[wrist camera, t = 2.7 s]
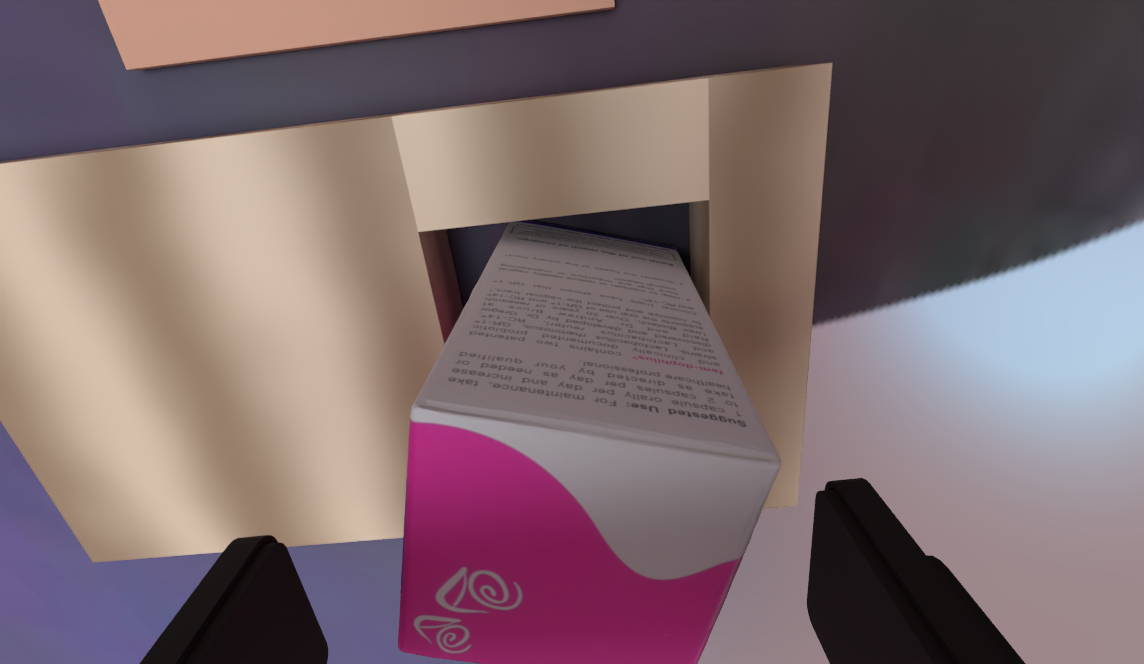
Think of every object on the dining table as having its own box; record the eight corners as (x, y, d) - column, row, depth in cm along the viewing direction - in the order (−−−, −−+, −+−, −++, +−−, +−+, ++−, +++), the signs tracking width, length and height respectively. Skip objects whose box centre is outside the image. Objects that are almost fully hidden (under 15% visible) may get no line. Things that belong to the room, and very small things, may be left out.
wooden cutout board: (788, 65, 16) (832, 63, 13) (769, 452, 22) (797, 505, 19) (-41, 166, 17) (-156, 182, 15) (149, 505, 23) (92, 562, 20)
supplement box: (504, 213, 18) (404, 397, 8) (679, 244, 18) (814, 460, 8) (484, 366, 20) (389, 667, 10) (640, 391, 21) (704, 704, 10)
